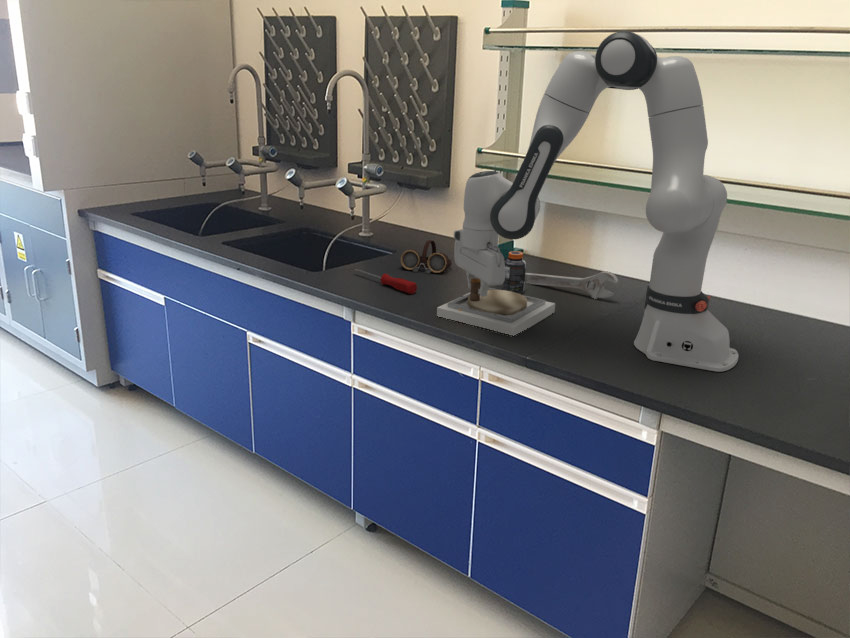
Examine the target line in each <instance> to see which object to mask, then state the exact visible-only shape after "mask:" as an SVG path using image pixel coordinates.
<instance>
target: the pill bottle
mask: <svg viewBox="0 0 850 638" xmlns="http://www.w3.org/2000/svg"><path fill="white" fill-rule="evenodd" d="M523 258H524V253H523V252H522V251H518V250H517V251H515V250H514V251H509V252H508V258H507V259H505V260H504V262H505V280H504V282H503V284H502V285H503V286H502V290H505V291H511V292H515V293H518V294H523V293H524V292H525V284H526V283H525V281H526V276H525V273H526V266H527V263H526V261H525V260H524V259H523Z"/></svg>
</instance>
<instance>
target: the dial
mask: <svg viewBox="0 0 850 638" xmlns="http://www.w3.org/2000/svg"><path fill="white" fill-rule="evenodd" d="M479 288H481V279H479V278H477V277H475V278H473V279H471V289H469V290H470V292H469V293H470V295H469V296H468V305H469V306H470V307H472V308H476V309H480V310H484V311H488V312H492V313H496V314H514V313H517V312H519V311H521V310H523V309H524V308H526V307H527V299H526V297H524V296H523V295H524V294H522V293H520V294H518V293H515V292H511V291H505V290H503V289H499V290H488V292H487V296H484V297H482V296H480V295H479V294H478V292H479V291H478V290H479Z"/></svg>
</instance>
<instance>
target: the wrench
mask: <svg viewBox="0 0 850 638" xmlns="http://www.w3.org/2000/svg"><path fill="white" fill-rule="evenodd" d="M525 277H526V278H527V281H526V283H529V284H528V285H538V286H545V287H546V286H548V287H549V286H550V287H556V288H557V287H559V288H572V289H578V290H583V291H585V293H588V294H589V295H590V297H591V299H593V298H594V299H593V300H595V299H596V300H597V299H598V298H601V299H606V298H611V297H612V296H614V292H613V291H612V290H609V289H607V288H605V285H604V283H605V282H606V281H609V282H611V283H612V284H615V285H617V284H618V283H619V279H618V277H617V275H615V274H614V273H613V272H612V271H604V270H603V271H601V272H599V273H597V274H594V275H591V276H587V277H583V278H582V277H573V276H562V275H551V274H542V273H541V274H540V273H533V272H525ZM526 283H525V284H526Z"/></svg>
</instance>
